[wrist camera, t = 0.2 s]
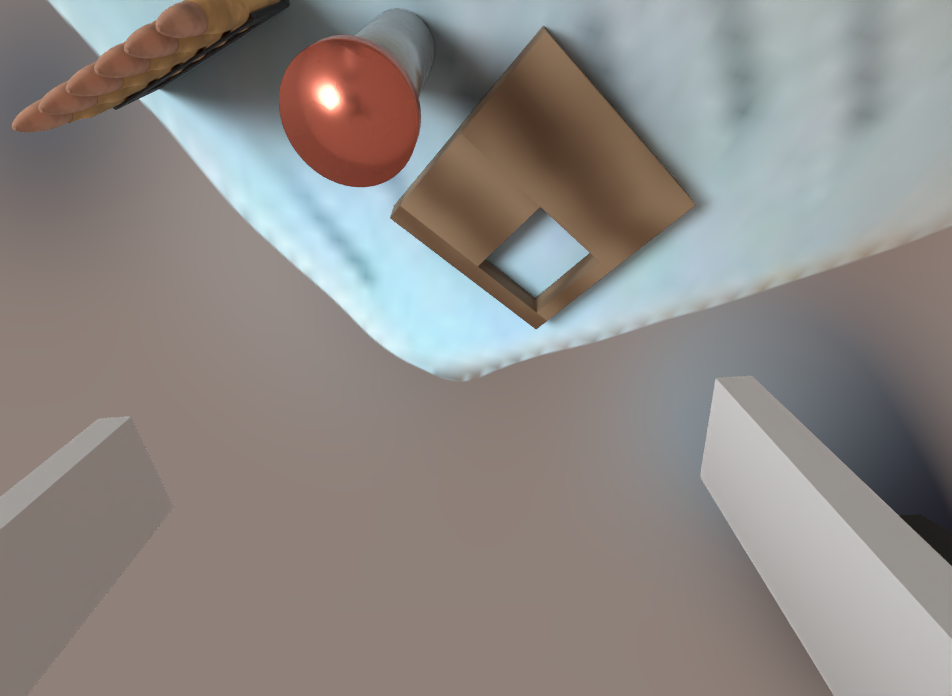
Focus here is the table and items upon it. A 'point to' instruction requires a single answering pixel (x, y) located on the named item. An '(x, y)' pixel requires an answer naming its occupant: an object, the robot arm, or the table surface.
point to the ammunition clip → (148, 59)
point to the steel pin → (359, 99)
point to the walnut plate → (541, 180)
